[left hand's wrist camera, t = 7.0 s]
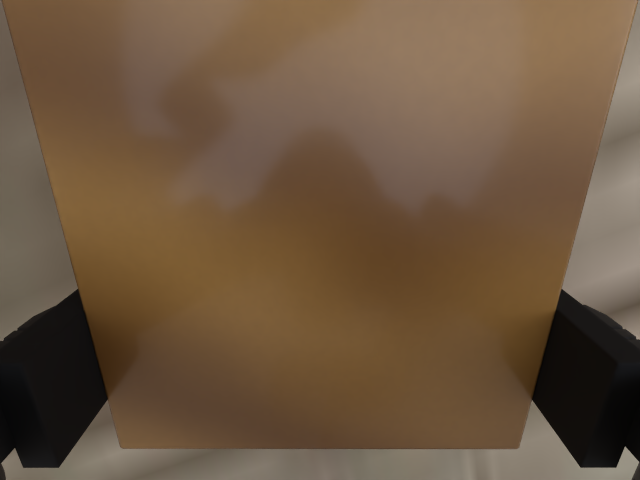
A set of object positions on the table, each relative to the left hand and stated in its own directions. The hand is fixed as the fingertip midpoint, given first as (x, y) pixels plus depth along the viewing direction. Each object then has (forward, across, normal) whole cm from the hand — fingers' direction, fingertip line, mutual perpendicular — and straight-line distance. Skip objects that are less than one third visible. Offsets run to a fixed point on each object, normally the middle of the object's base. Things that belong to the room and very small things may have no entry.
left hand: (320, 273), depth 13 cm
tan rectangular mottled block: (+6, 0, -5) cm, 8 cm away
